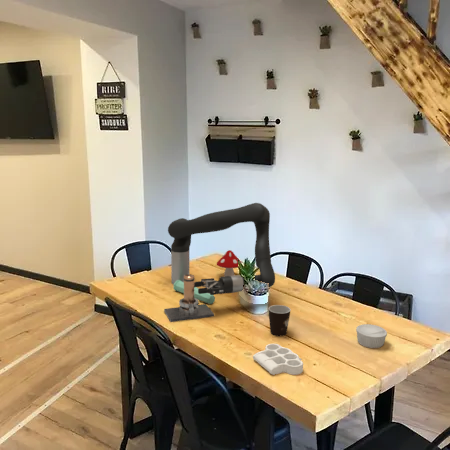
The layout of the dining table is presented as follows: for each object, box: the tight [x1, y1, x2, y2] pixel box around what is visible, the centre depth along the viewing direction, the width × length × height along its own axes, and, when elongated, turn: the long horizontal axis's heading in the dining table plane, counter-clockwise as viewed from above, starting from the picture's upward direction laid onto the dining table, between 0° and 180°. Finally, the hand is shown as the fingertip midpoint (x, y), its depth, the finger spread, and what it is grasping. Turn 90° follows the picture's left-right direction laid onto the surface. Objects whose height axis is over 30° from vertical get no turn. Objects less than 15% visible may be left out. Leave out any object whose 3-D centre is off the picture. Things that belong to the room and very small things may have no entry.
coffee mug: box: [268, 304, 292, 337], centre depth 188 cm, size 12×9×10 cm
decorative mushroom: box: [216, 249, 243, 276], centre depth 254 cm, size 14×14×15 cm
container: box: [172, 280, 216, 305], centre depth 226 cm, size 6×6×25 cm
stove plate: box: [163, 297, 215, 323], centre depth 205 cm, size 12×19×6 cm, turn 110°
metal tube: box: [183, 273, 195, 310], centre depth 204 cm, size 5×5×16 cm
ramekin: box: [355, 323, 388, 349], centre depth 181 cm, size 11×11×5 cm
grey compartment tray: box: [252, 343, 304, 376], centre depth 165 cm, size 3×18×15 cm
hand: (195, 288), depth 205 cm, fingers open, 8 cm apart
